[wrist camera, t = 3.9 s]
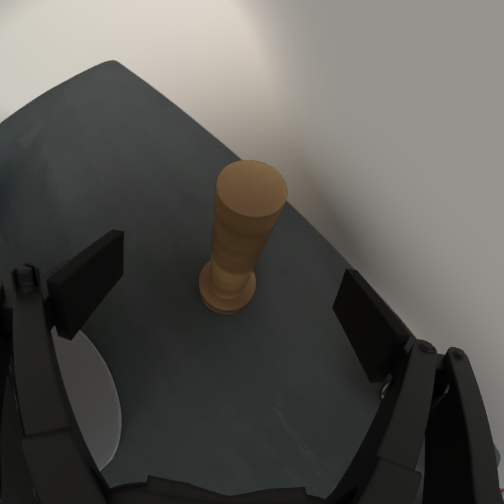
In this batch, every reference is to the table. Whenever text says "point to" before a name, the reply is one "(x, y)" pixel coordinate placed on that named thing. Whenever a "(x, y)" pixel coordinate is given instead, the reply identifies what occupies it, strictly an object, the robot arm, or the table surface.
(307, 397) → the table surface
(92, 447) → the container
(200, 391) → the table surface
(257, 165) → the wooden pestle
